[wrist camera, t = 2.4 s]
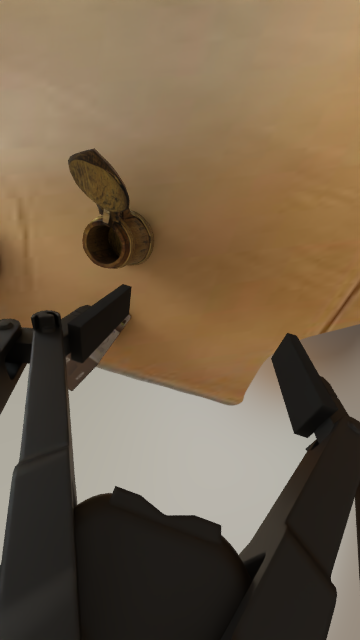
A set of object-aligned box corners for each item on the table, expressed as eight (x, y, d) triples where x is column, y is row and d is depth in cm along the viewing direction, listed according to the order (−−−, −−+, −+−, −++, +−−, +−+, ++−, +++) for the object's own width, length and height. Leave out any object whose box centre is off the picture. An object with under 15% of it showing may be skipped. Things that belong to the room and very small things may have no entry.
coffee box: (108, 297, 41) (61, 336, 27) (132, 316, 43) (99, 363, 29) (87, 323, 45) (35, 371, 30) (109, 340, 47) (70, 393, 32)
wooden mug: (170, 197, 32) (143, 171, 16) (145, 271, 38) (107, 306, 22) (119, 172, 31) (37, 119, 15) (102, 253, 37) (30, 275, 21)
